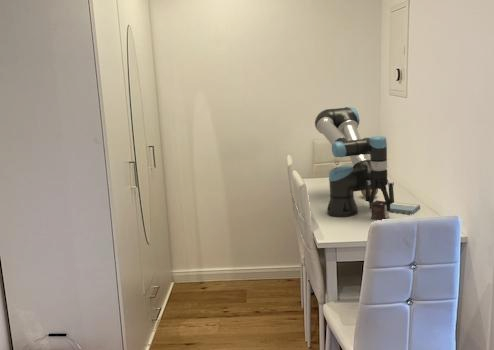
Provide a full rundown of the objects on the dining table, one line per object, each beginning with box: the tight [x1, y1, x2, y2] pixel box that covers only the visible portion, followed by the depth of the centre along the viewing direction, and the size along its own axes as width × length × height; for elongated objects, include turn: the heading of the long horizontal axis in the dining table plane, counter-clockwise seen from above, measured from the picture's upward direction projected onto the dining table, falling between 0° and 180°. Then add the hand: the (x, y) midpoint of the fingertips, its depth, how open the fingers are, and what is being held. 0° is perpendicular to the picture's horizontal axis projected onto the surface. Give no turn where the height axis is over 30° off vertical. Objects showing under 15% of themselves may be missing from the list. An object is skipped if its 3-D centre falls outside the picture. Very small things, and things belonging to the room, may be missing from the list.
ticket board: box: [389, 201, 421, 216], centre depth 242 cm, size 14×12×2 cm
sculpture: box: [360, 189, 379, 198], centre depth 269 cm, size 9×9×15 cm
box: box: [370, 200, 386, 219], centre depth 232 cm, size 6×6×7 cm
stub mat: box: [370, 216, 390, 221], centre depth 233 cm, size 7×6×1 cm
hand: (380, 216), depth 233 cm, fingers closed on box, 6 cm apart
